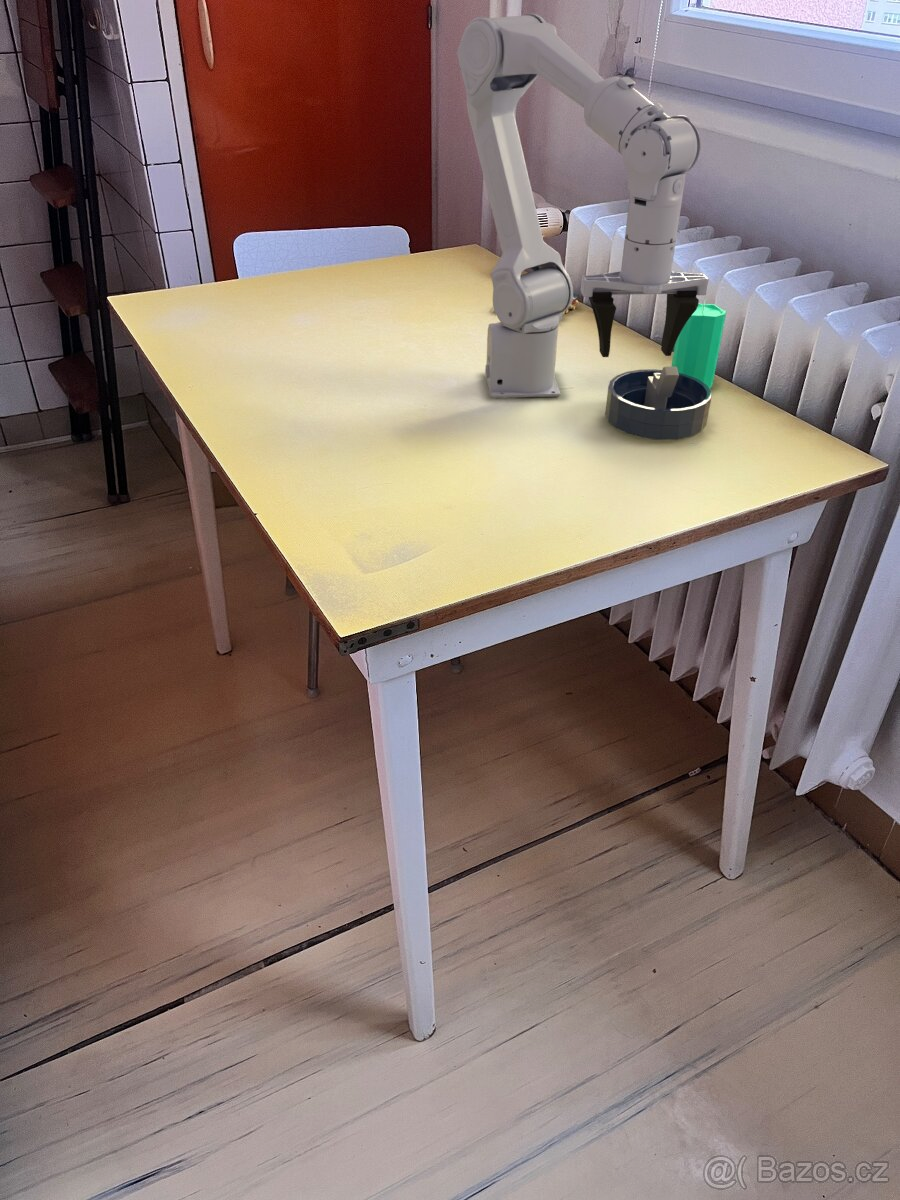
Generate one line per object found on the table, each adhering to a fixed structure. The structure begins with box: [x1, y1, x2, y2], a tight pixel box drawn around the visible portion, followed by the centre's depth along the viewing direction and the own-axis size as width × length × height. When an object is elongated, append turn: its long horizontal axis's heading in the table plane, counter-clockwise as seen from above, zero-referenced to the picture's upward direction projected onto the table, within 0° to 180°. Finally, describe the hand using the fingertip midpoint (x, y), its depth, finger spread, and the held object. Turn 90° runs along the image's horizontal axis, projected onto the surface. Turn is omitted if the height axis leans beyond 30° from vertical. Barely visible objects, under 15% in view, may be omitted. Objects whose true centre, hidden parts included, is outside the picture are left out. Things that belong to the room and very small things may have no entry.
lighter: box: [644, 366, 679, 409], centre depth 118 cm, size 7×2×8 cm, turn 4°
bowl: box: [604, 368, 713, 441], centre depth 120 cm, size 13×13×4 cm
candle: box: [670, 297, 727, 390], centre depth 127 cm, size 6×6×12 cm
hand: (635, 353), depth 114 cm, fingers open, 7 cm apart
